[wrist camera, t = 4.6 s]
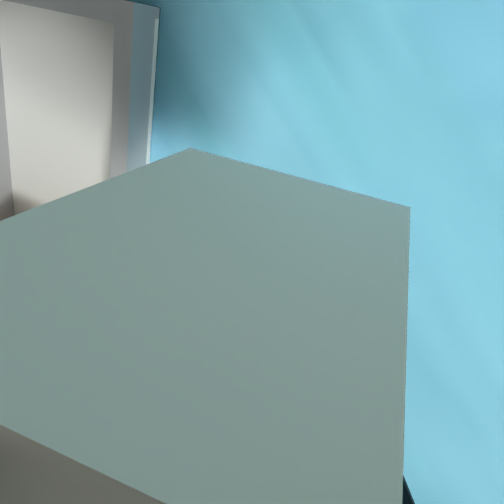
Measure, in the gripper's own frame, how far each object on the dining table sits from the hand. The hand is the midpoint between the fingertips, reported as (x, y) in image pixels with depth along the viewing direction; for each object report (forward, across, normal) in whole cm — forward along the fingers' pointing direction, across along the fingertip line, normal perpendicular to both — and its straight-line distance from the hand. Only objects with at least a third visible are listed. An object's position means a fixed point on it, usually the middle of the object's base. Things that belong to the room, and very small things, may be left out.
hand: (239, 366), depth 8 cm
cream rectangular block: (+1, 0, 0) cm, 1 cm away
